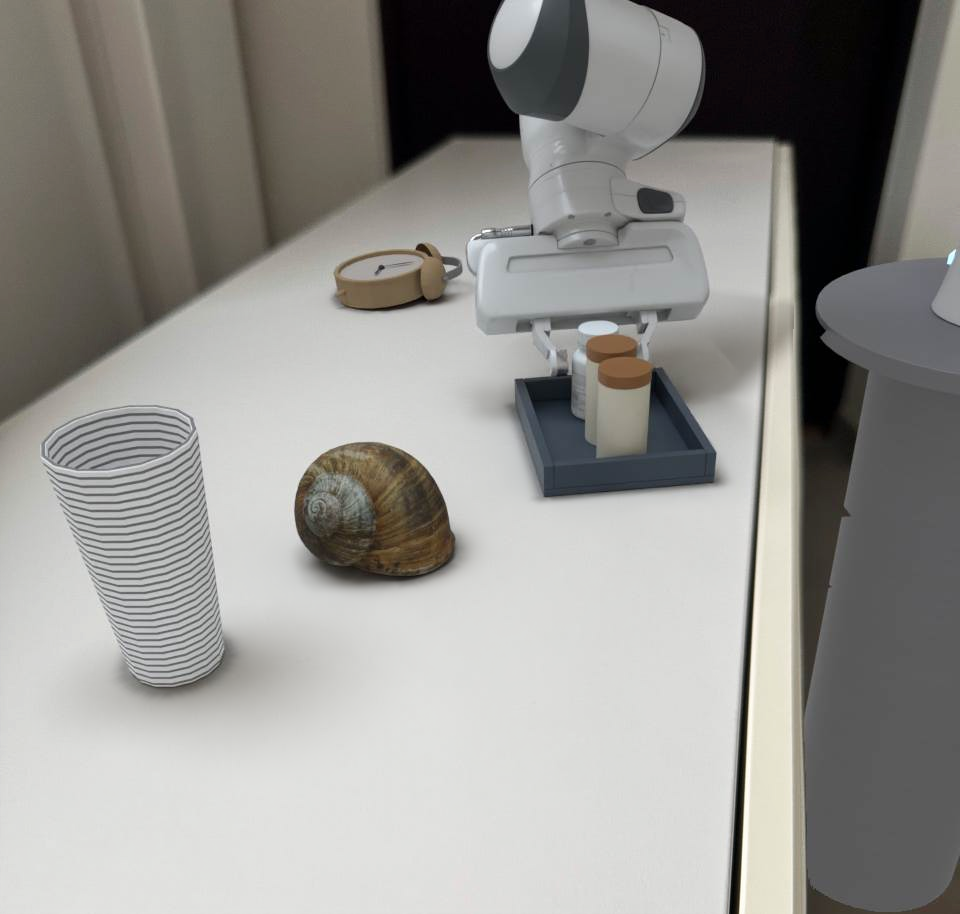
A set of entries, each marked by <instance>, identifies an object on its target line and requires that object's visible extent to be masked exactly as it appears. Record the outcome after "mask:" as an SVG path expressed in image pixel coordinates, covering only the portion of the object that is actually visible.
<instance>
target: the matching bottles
mask: <svg viewBox="0 0 960 914" xmlns="http://www.w3.org/2000/svg"><path fill="white" fill-rule="evenodd" d="M638 344H639V343H638V342H637V340H636V339H635V338H633V337H631V336H628V335H623V334H619V335H616V334H608V335H600V336H596V337H593V338H591V339H589V340H588V341H587V343H586V357H587V358H586V407H585V439H586V440H587V442H589V443H590V444H593V445H595V446H597V448H596V458H603V457H615V456H627V455H639V454H646V452H647V435H648V418H649V401H650V384H651V378H652V368H653V366H652V364H651V363H650V361H649V362H647V361H645V360H643V359H639V358H636V356H637V345H638Z"/></svg>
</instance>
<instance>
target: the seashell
mask: <svg viewBox="0 0 960 914" xmlns="http://www.w3.org/2000/svg"><path fill="white" fill-rule="evenodd" d="M293 505H294V506H293V507H294V508H293V514H294V522H295V529H296V532H297V536H298V537H299V539H300V541H301V543H302V544H303V545H304V547H305V548H306V549H307V550H308V551H309V552H310V553H311V554H312V555H313V556H314V557H315V558H317V559H319V560H320V561H322V562H324V563H326V564H329V565H331V566H334V567H335V566H336V567H355V568H357V569H359V570H362V571H366V572H368V573H369V572H370V573H374V574H380V575H386V576H397V577H399V576H400V577H409V576H410V577H411V576H418V575H423V574H427V573H429V572H432V571H434V570H436V569H438V568H439V567H441V566H442V565H443V564H444V563H445V562H447V561H448V560H449V559H450V557H452V555H453V553H454V552H455V550H456V549H455V546H456V545H455V544H456V534H455V533H454V531H453V530H452V529H451V528H452V527H451V522H450V516H449V511H448V507H447V503H446V500H445V498H444V495H443V492H442V491H441V489H440V487H439V485H438V483H437V482H436V480H435V478H434V477H433V476H432V474H431V472H430V471H429V470H428V469H427V468H426V466H424V465H423V463H422V462H420V460H418V459H417V458H416V457H414V455H412V454H410V453H408V452H406V451H405V450H403V449H401V448H398V447H396V446H394V445H393V446H392V445H389V444H386V443H383V442H378V441H357V442H351V443H346V444H341V445H338V446H336V447H333V448H330V449H328V450H327V451H325V452H324V453H321V454H320V455H319V456H318V457H317V458H316V459H315V460H314V461H312V462H311V463H310V465H308V467H307V468H306V469H305V471H304V473H303V475H302V476H301V478H300V480H299V482H298V485H297V489H296V493H295V497H294V504H293Z"/></svg>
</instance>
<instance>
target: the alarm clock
mask: <svg viewBox="0 0 960 914" xmlns="http://www.w3.org/2000/svg"><path fill="white" fill-rule="evenodd" d="M445 266H453V267H455V268H453V269H450V270H449V271H447V270H446V268H445ZM463 271H464V269H463V261H462V260H461V259H460V258H458V257H455V256H447V255H446V256H445V255H442V254H441V253H440V251H439V249H438V248H437V247H436V246H435V245H433V244H431V243H429V242H420V243H418V244H417V245H416V246H415V249H409V248H398V249H397V248H394V249H393V248H392V249H384V250H376V251H373V252H368V253H363V254H361V255H356V256H353V257H352V258H349V259H347V260H344V261H343V262H341V263H340V264H338V265H337V266H335V268H334V270H333V272H332V273H333V276H334V281H335V285H336V286H335V287H336V290H337V291H336V293H334V297H335V298H336V299H337V298H338V300H339V302H340V304H342V305H345V306H347V307H350V308H356V309H380V308H389V307H394V306H398V305H402V304H406V303H409V302H412V301H414V300H418V299H419V298H421V297H423V296H424V298H425V299H426V300H427V301H434V300H436V299H438V298H440V297H441V296H442V295H443V293H444V292H445V290H446V286H447V282H448V281H451V280H453V279H455V278H458V277H459V276H460V275H462V273H463Z"/></svg>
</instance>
